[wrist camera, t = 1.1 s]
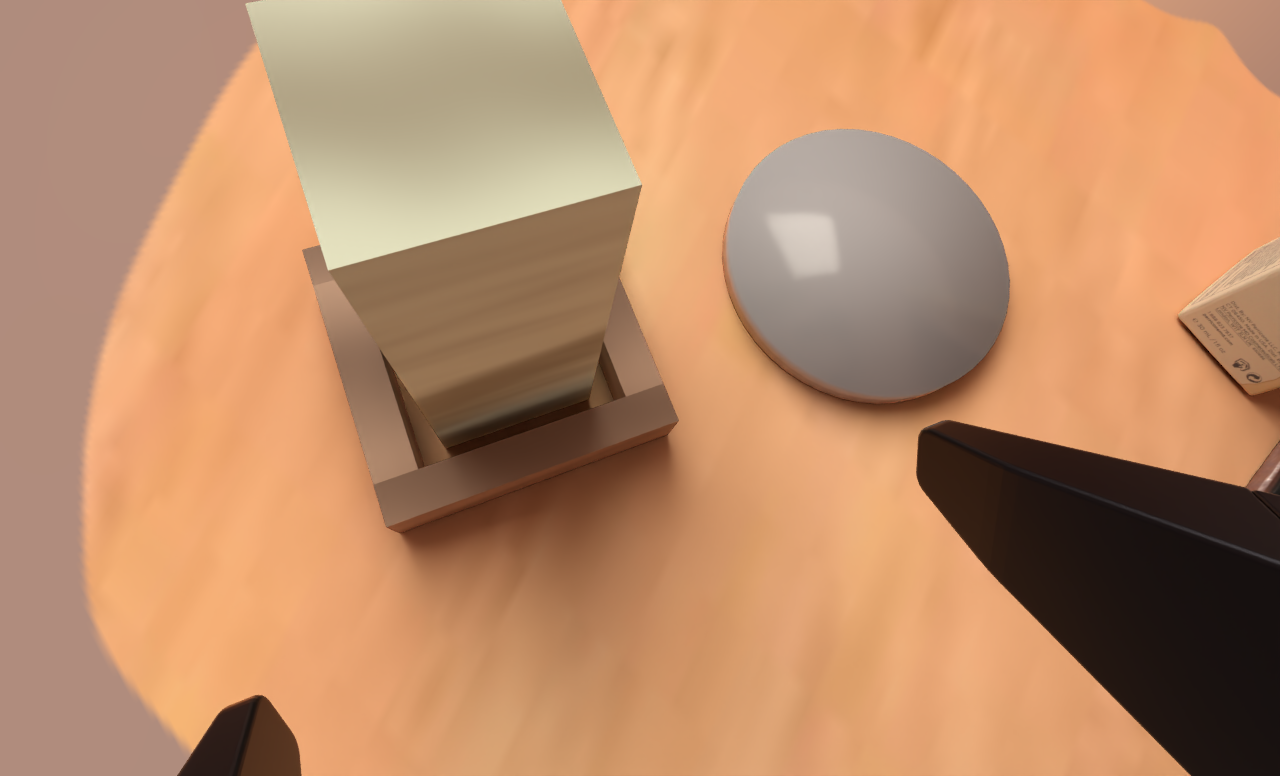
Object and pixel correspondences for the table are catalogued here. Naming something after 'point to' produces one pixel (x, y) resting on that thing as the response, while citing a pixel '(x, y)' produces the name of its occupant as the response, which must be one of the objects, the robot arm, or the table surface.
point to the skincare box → (1243, 319)
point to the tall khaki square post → (459, 192)
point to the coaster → (865, 266)
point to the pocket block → (503, 464)
